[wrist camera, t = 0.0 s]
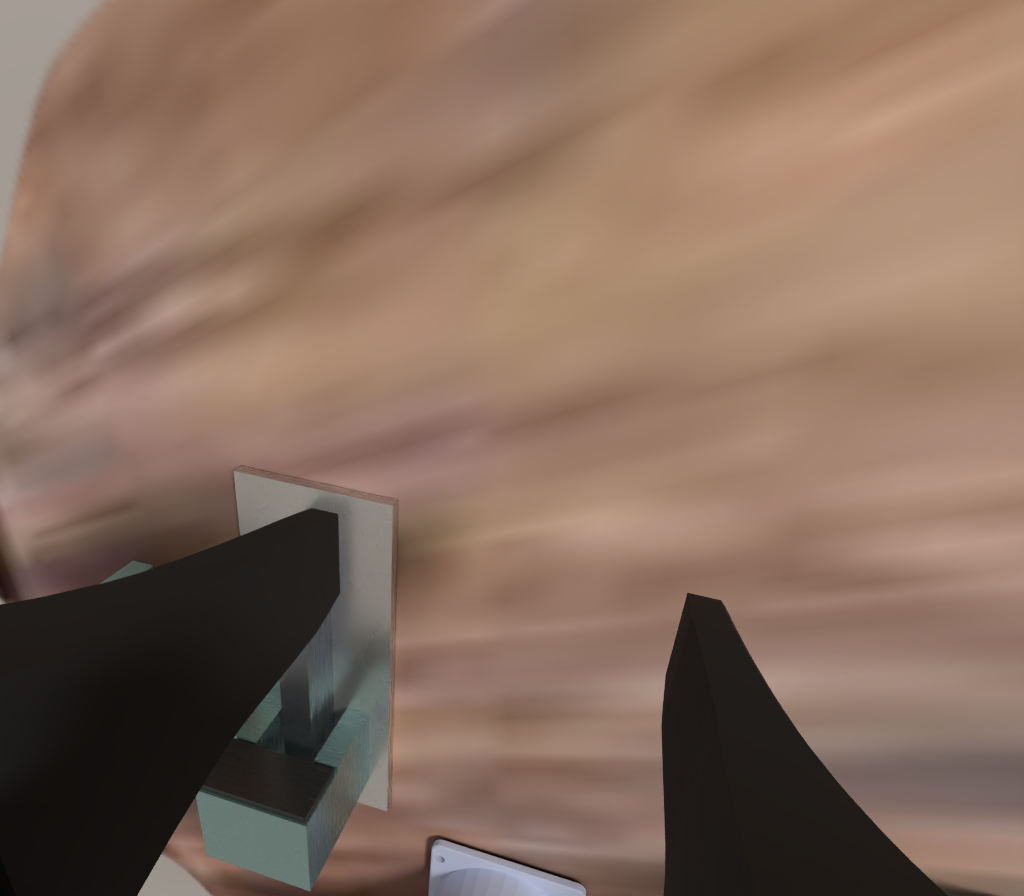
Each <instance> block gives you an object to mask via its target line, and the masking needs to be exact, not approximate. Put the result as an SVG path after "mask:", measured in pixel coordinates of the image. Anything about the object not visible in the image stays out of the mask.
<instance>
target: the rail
mask: <svg viewBox="0 0 1024 896" xmlns="http://www.w3.org/2000/svg"><path fill="white" fill-rule="evenodd" d="M234 480H235V490H236V500H237V510H238V519H239V529H240V536H242V535H244V534H247V533H249V532H252V531H254V530H256V529H259V528H261V527H264V526H266V525H268V524H271V523H273V522H276V521H278V520H281V519H283V518H286V517H288V516H291V515H293V514H296V513H299V512H301V511H304V510H307V509H310V508H314V509H319V510H323V511H328V512H332V513H337V514H338V522H339V564H340V594H339V596H338V598H337V599H336V601H335V603H334V605H333V606H332V608H331V610H330V612H329V613H328V615H327V617H326V618H325V620H324V622H323V623H322V625H321V626H320V628H319V630H318V631H317V633H316V634H315V635H314V637H313V638H312V639H311V641H310V642H309V643H308V644H307V646H306V647H305V648H304V649H303V651H302V652H301V653H300V655H299V656H298V657H297V658H296V660H295V661H294V662H293V663H292V665H291V666H290V667H289V668H288V670H287V671H286V672H285V673H284V674H283V676H282V677H281V678H280V679H279V681H278V682H277V683H276V684H275V686H274V687H273V688H272V689H271V691H270V692H269V693H268V694H267V696H266V697H265V698H264V699H263V700H262V702H261V703H260V704H259V705H258V707H257V708H256V709H255V710H254V712H253V713H252V714H251V715H250V717H249V718H248V719H247V721H246V722H245V723H244V725H243V726H242V727H241V729H240V730H239V731H238V733H237V734H236V735H235V737H234V739H233V740H232V742H231V743H230V744H229V746H228V747H227V749H226V750H225V752H224V753H223V755H222V756H221V758H220V759H219V761H218V762H217V764H216V766H215V767H214V769H213V770H212V772H211V773H210V775H209V776H208V778H207V779H206V781H205V782H204V784H203V786H202V787H201V789H200V790H199V792H198V794H197V795H196V799H197V805H198V811H199V816H200V822H201V828H202V834H203V839H204V845H205V851H206V855H208V856H210V857H213V858H216V859H219V860H222V861H225V862H228V863H230V864H233V865H236V866H239V867H242V868H245V869H248V870H250V871H253V872H256V873H259V874H262V875H265V876H268V877H270V878H273V879H276V880H279V881H282V882H285V883H288V884H290V885H293V886H296V887H299V888H302V889H305V890H308V891H311V889H312V887H313V885H314V884H315V882H316V880H317V878H318V876H319V874H320V872H321V870H322V868H323V866H324V864H325V862H326V861H327V859H328V857H329V855H330V853H331V851H332V849H333V847H334V845H335V843H336V841H337V839H338V838H339V836H340V834H341V832H342V830H343V828H344V826H345V824H346V822H347V820H348V818H349V816H350V814H351V813H352V811H353V809H354V807H355V805H356V803H357V802H359V803H362V804H365V805H369V806H372V807H375V808H378V809H381V810H384V811H387V810H388V808H389V806H390V804H391V788H392V743H393V699H394V655H395V611H396V567H397V522H398V500H396V499H391V498H387V497H382V496H377V495H373V494H368V493H364V492H359V491H354V490H350V489H345V488H341V487H336V486H331V485H327V484H322V483H318V482H313V481H308V480H304V479H299V478H295V477H290V476H285V475H281V474H276V473H272V472H267V471H262V470H258V469H253V468H249V467H244V466H240V467H239V468H237V469H236V470H234Z"/></svg>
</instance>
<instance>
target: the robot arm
mask: <svg viewBox="0 0 1024 896" xmlns="http://www.w3.org/2000/svg"><path fill="white" fill-rule="evenodd" d="M339 594H340V564H339V522H338V514H337V513H332V512H328V511H323V510H319V509H314V508H310V509H307V510H304V511H301V512H299V513H296V514H293V515H291V516H288V517H286V518H283V519H281V520H278V521H276V522H273V523H271V524H268V525H266V526H264V527H261V528H259V529H256V530H254V531H252V532H249V533H247V534H244V535H242V536H239V537H237V538H235V539H232V540H230V541H227V542H225V543H222V544H220V545H217V546H215V547H212V548H209V549H206V550H204V551H201V552H198V553H196V554H193V555H190V556H188V557H185V558H182V559H180V560H177V561H174V562H171V563H169V564H166V565H163V566H160V567H157V568H154V569H150V570H147V571H144V572H141V573H137V574H134V575H130V576H127V577H124V578H120V579H117V580H113V581H109V582H106V583H102V584H98V585H94V586H89V587H85V588H80V589H76V590H72V591H67V592H63V593H59V594H54V595H50V596H45V597H41V598H35V599H30V600H25V601H19V602H13V603H8V604H2V605H0V896H137V895H138V893H139V891H140V890H141V888H142V886H143V884H144V883H145V881H146V879H147V878H148V876H149V874H150V872H151V871H152V869H153V867H154V865H155V864H156V862H157V860H158V859H159V857H160V855H161V853H162V852H163V850H164V848H165V846H166V845H167V843H168V841H169V840H170V838H171V836H172V834H173V833H174V831H175V829H176V828H177V826H178V824H179V823H180V821H181V820H182V818H183V816H184V815H185V813H186V811H187V810H188V808H189V807H190V805H191V803H192V802H193V800H194V799H195V797H196V795H197V794H198V792H199V790H200V789H201V787H202V786H203V784H204V782H205V781H206V779H207V778H208V776H209V775H210V773H211V772H212V770H213V769H214V767H215V766H216V764H217V762H218V761H219V759H220V758H221V756H222V755H223V753H224V752H225V750H226V749H227V747H228V746H229V744H230V743H231V741H232V740H233V738H234V737H235V735H236V734H237V733H238V731H239V730H240V729H241V727H242V726H243V725H244V723H245V722H246V721H247V719H248V718H249V717H250V715H251V714H252V713H253V712H254V710H255V709H256V708H257V707H258V705H259V704H260V703H261V702H262V700H263V699H264V698H265V697H266V696H267V694H268V693H269V692H270V691H271V689H272V688H273V687H274V686H275V684H276V683H277V682H278V681H279V679H280V678H281V677H282V676H283V674H284V673H285V672H286V671H287V670H288V668H289V667H290V666H291V665H292V663H293V662H294V661H295V660H296V658H297V657H298V656H299V655H300V653H301V652H302V651H303V649H304V648H305V647H306V646H307V644H308V643H309V642H310V641H311V639H312V638H313V637H314V635H315V634H316V633H317V631H318V630H319V628H320V626H321V625H322V623H323V622H324V620H325V618H326V617H327V615H328V613H329V612H330V610H331V608H332V606H333V605H334V603H335V601H336V599H337V598H338V596H339ZM662 756H663V786H664V814H665V843H666V846H665V885H664V896H947V895H946V894H945V893H944V892H943V891H942V890H941V889H940V888H939V887H938V886H937V885H936V884H935V883H933V882H932V881H931V880H930V879H929V878H928V877H927V876H926V875H925V874H924V873H923V872H922V871H921V870H920V869H919V868H918V867H917V866H916V865H915V864H914V863H912V862H911V861H910V860H909V858H908V857H907V856H906V855H905V854H904V853H903V852H902V851H901V850H900V849H899V848H898V847H897V846H896V845H895V844H894V843H893V842H892V841H891V840H890V839H889V838H888V837H887V836H886V835H885V834H884V833H883V832H882V831H881V830H880V829H879V828H878V827H877V825H876V824H875V823H874V822H873V821H872V820H871V819H870V818H869V817H868V816H867V815H866V813H865V812H864V811H863V810H862V809H861V808H860V807H859V806H858V805H857V804H856V803H855V802H854V800H853V799H852V798H851V797H850V796H849V795H848V794H847V792H846V791H845V790H844V789H843V788H842V787H841V785H840V784H839V783H838V782H837V781H836V780H835V778H834V777H833V776H832V775H831V773H830V772H829V771H828V770H827V768H826V767H825V766H824V765H823V763H822V762H821V761H820V760H819V758H818V757H817V756H816V755H815V753H814V752H813V751H812V750H811V748H810V747H809V746H808V744H807V743H806V742H805V740H804V739H803V737H802V736H801V735H800V733H799V732H798V730H797V729H796V727H795V726H794V725H793V723H792V722H791V720H790V719H789V717H788V716H787V714H786V713H785V711H784V710H783V708H782V707H781V705H780V704H779V702H778V701H777V699H776V697H775V696H774V694H773V693H772V691H771V689H770V688H769V686H768V684H767V683H766V681H765V679H764V678H763V676H762V674H761V673H760V671H759V669H758V668H757V666H756V664H755V663H754V661H753V659H752V657H751V656H750V654H749V652H748V650H747V648H746V646H745V645H744V643H743V641H742V639H741V637H740V635H739V633H738V631H737V629H736V627H735V625H734V623H733V622H732V619H731V617H730V615H729V613H728V611H727V609H726V607H725V606H724V604H723V603H722V601H721V600H717V599H713V598H708V597H704V596H699V595H695V594H690V593H687V597H686V601H685V605H684V608H683V612H682V616H681V620H680V623H679V627H678V631H677V635H676V638H675V642H674V646H673V650H672V654H671V657H670V661H669V665H668V669H667V672H666V679H665V690H664V701H663V713H662ZM428 896H586V889H585V888H584V886H582V885H581V884H579V883H577V882H574V881H570V880H567V879H564V878H561V877H558V876H555V875H552V874H548V873H545V872H542V871H539V870H536V869H533V868H530V867H527V866H523V865H520V864H517V863H514V862H511V861H508V860H505V859H502V858H498V857H495V856H492V855H489V854H486V853H483V852H480V851H477V850H473V849H470V848H467V847H464V846H461V845H458V844H455V843H452V842H448V841H445V840H441V839H439V840H436V841H434V844H433V846H432V849H431V864H430V879H429V894H428Z"/></svg>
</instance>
